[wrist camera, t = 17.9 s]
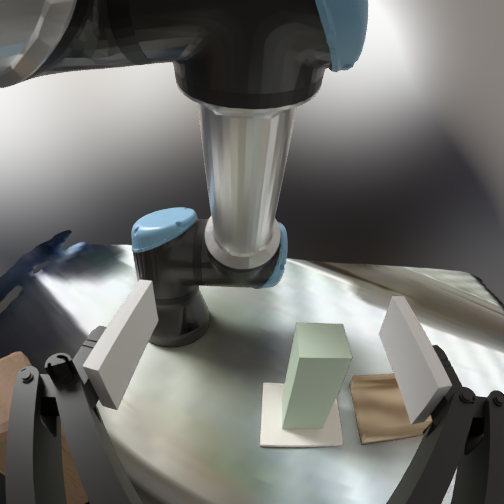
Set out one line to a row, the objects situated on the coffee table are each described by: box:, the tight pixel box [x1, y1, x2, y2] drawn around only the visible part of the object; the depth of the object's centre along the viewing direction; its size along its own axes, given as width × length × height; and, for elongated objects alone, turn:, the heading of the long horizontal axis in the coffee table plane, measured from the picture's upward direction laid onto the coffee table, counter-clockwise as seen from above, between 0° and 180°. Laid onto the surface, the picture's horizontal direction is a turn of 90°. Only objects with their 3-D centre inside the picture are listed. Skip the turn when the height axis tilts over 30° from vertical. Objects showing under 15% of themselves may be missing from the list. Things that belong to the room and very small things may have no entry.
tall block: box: [282, 322, 352, 429], centre depth 36 cm, size 6×6×16 cm
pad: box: [260, 382, 343, 447], centre depth 39 cm, size 12×12×1 cm
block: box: [0, 352, 89, 504], centre depth 20 cm, size 10×10×20 cm
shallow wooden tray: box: [350, 373, 432, 445], centre depth 39 cm, size 12×13×2 cm
